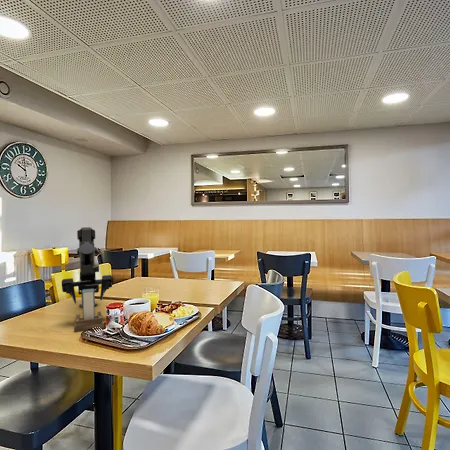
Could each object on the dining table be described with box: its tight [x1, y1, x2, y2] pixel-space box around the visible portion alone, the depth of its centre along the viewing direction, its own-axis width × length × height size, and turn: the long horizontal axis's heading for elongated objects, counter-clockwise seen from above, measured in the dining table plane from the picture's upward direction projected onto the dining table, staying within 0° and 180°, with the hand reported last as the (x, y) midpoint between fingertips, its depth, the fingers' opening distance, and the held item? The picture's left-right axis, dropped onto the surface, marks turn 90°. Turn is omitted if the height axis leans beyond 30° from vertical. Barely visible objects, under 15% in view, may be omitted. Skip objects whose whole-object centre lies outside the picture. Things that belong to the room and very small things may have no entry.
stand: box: [73, 311, 105, 333], centre depth 119 cm, size 12×10×4 cm
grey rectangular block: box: [81, 288, 96, 320], centre depth 119 cm, size 5×4×12 cm
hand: (88, 301), depth 121 cm, fingers open, 9 cm apart
